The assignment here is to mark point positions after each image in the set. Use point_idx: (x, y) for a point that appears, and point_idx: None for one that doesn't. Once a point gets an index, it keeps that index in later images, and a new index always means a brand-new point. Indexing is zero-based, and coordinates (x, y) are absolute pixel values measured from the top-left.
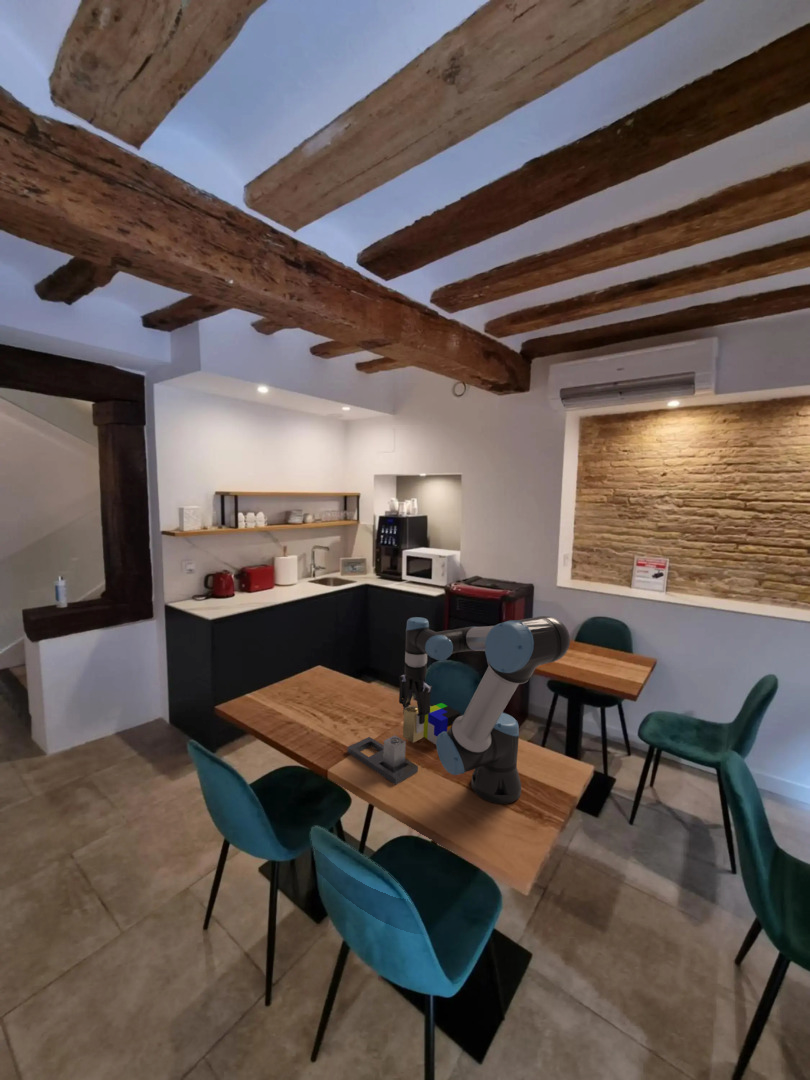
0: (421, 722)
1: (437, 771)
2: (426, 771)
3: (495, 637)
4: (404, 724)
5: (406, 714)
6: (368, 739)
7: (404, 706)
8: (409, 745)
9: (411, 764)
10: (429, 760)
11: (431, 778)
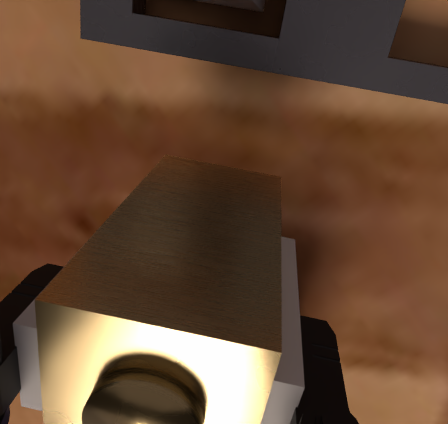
0: (34, 276)
1: (28, 115)
2: (66, 76)
3: None
4: (264, 224)
5: (225, 294)
6: None
7: (316, 415)
8: (292, 232)
9: (120, 24)
10: (121, 175)
11: (4, 35)
